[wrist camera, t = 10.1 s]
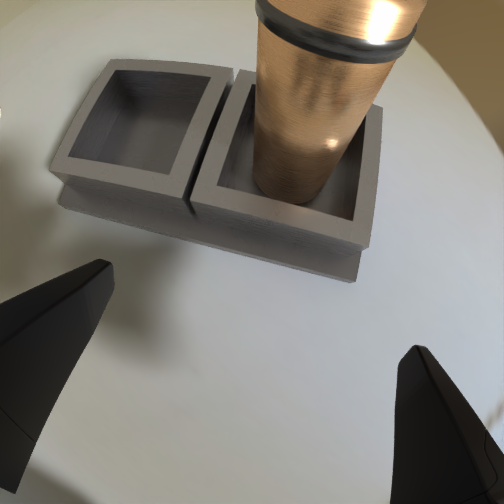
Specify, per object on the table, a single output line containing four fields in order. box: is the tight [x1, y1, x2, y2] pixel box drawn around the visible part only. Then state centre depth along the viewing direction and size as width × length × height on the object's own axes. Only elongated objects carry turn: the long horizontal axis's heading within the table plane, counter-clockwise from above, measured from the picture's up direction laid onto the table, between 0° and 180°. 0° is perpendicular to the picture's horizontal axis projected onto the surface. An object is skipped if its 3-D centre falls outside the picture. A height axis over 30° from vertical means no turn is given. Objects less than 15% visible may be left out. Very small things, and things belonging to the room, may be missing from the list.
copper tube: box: [253, 0, 427, 204], centre depth 11 cm, size 5×5×13 cm
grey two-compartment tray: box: [49, 59, 383, 283], centre depth 17 cm, size 19×11×4 cm, turn 75°
